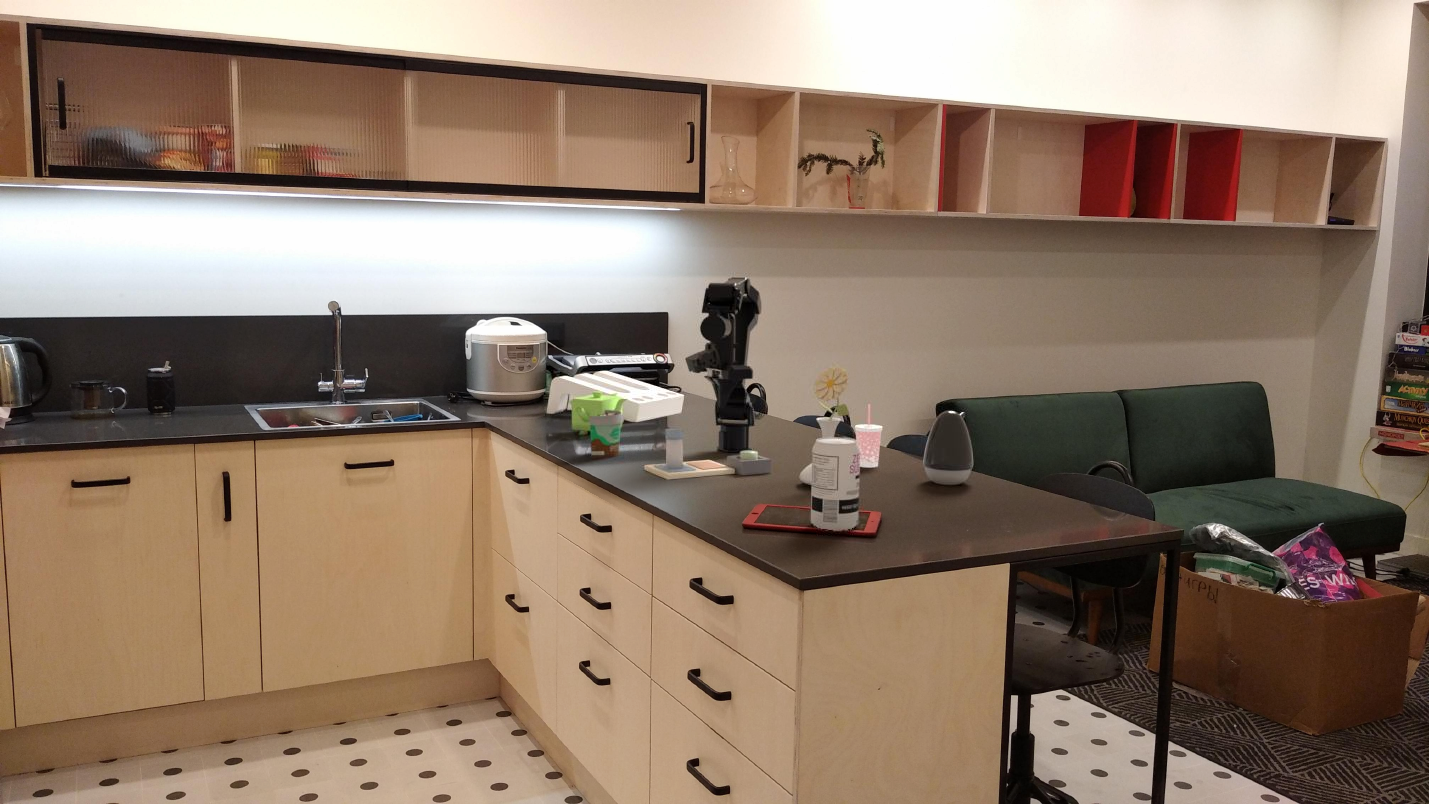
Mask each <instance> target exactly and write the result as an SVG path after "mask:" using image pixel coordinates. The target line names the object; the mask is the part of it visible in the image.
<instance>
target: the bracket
mask: <svg viewBox="0 0 1429 804" xmlns="http://www.w3.org/2000/svg"><path fill="white" fill-rule="evenodd" d="M594 391H600V392H602V394H601V395H607V396H611V395H612V394H613V393H618V394H617V395H616V396H620V397H622V399H628V400H626V401H625V402H624V403H623V404H622V415H623V420H624V421H626V422H627V421H628V422H631V423H638V422H645V421H649V420H654V419H658V418H663V417H668V416H672V415H676V414H681V413H682V411H683V410H682V409H683V405H684V399H685V395H684V394H683V393H679V392H677V391H676V392H675V391H671V390H669V389H666V388H662V387H659V386H656V385H653V384H650V383H646V382H644V381H640V380H637V379H634V378H631V377H628V376H625V375H621V374H618V373H614V372H611V371H609V370H600V371H595V372H594V373H593V374H591V373H586V372H585V373H578V374H575V375H574V376H573V377H571V376H568V375H562V376H556V377H554V378H553V379H552V380H551V383H550V388H549V393H548V394H549V395H548V399H547V400H548V403H547V406H546V407H547V408H546V414H552V415H553V414H555V415H556V414H559V413H562V412H564V411H565V410H567V411H572V405H571V404H570V402H569V401H571V400H572V399H573V398H578V397H583V396H589V395H593V393H592V392H594Z"/></svg>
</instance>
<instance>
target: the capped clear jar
mask: <svg viewBox="0 0 1429 804" xmlns="http://www.w3.org/2000/svg"><path fill="white" fill-rule="evenodd" d="M665 447H666V448H665V456H666V457H665V461H666V462H665V463H666V468H669V469H680V468H683V462H684V429H683V428H677V427H676V428H674V427H673V428H665Z"/></svg>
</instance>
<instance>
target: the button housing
mask: <svg viewBox="0 0 1429 804" xmlns="http://www.w3.org/2000/svg"><path fill="white" fill-rule="evenodd" d="M726 459H727V460H726V466H728V467H731V468H733V469H735V474H737V475H740V476H752V475H763V474H771V473H772V472H771V470H772V469H771V468H772V467H771V466H772V459H771V458H768V457H764V456H762V455H759V454H758V459H754V460H743V459H740V454H739V455H728V456H726Z"/></svg>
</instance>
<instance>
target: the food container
mask: <svg viewBox="0 0 1429 804" xmlns="http://www.w3.org/2000/svg"><path fill="white" fill-rule="evenodd" d="M624 421H625V420H624V419H623V415H622V414H621V412H620V411H615V410H605V412H604V414H602V415H597V416H590V421H589V425H590V431H589V432H590V455H591V456H590V458H591V459H609V458H615V457H618V456H619V454H620V452H619V451H620V443H621V442H620V441H621V428H622V427H621V423H622V424H623V423H624Z"/></svg>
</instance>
